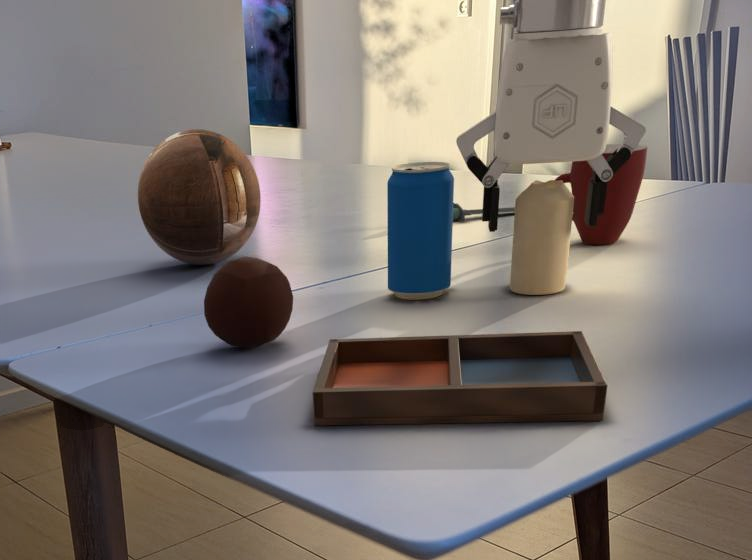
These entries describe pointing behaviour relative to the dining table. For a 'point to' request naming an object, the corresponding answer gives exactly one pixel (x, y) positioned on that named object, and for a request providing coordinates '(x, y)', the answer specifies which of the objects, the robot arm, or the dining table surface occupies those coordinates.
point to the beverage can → (420, 229)
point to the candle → (541, 238)
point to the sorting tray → (459, 380)
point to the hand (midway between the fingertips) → (540, 226)
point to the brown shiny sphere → (199, 197)
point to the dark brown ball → (248, 302)
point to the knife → (474, 211)
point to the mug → (607, 196)
